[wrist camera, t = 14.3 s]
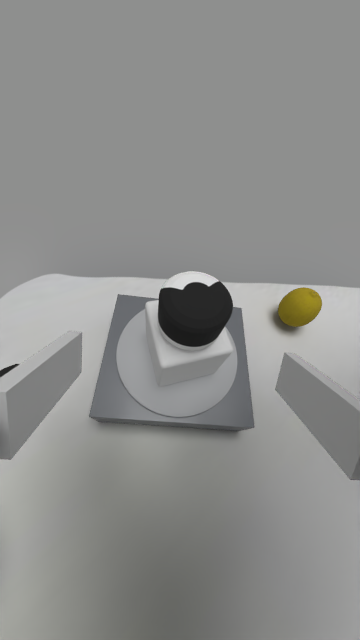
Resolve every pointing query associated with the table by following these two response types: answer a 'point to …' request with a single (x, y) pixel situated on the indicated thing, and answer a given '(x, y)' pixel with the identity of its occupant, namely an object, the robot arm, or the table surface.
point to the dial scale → (174, 399)
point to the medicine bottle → (188, 327)
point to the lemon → (299, 307)
